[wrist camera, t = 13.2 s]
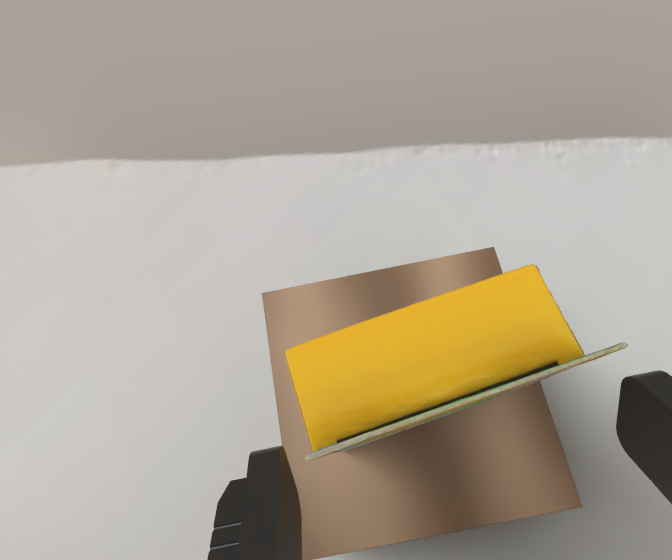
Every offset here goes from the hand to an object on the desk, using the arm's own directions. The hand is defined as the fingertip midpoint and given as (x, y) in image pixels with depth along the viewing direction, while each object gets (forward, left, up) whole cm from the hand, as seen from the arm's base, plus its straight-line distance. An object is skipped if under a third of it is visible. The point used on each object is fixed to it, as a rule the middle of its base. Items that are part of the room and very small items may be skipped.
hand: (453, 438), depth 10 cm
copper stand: (0, +2, -16) cm, 16 cm away
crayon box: (0, +2, -10) cm, 10 cm away
